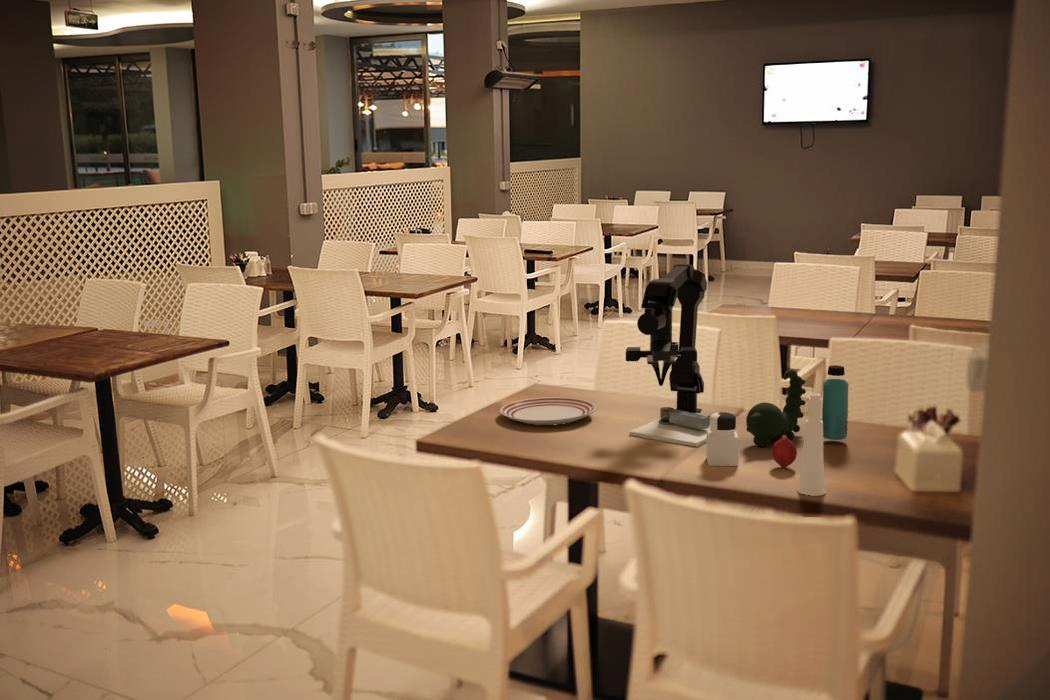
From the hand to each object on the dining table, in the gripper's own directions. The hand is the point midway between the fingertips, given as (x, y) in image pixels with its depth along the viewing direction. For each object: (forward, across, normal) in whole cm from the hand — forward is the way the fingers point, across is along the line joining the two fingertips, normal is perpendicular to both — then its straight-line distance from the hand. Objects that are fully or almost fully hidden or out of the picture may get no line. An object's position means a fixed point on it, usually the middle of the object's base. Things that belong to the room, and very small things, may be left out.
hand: (661, 385), depth 271 cm
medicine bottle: (+12, +14, -27) cm, 33 cm away
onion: (+12, +28, -31) cm, 44 cm away
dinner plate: (+13, -32, +13) cm, 37 cm away
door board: (+13, +5, -2) cm, 14 cm away
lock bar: (+11, +6, +1) cm, 12 cm away
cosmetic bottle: (+12, +32, -48) cm, 59 cm away
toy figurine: (+13, +29, -8) cm, 33 cm away
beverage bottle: (+13, +44, -9) cm, 47 cm away
